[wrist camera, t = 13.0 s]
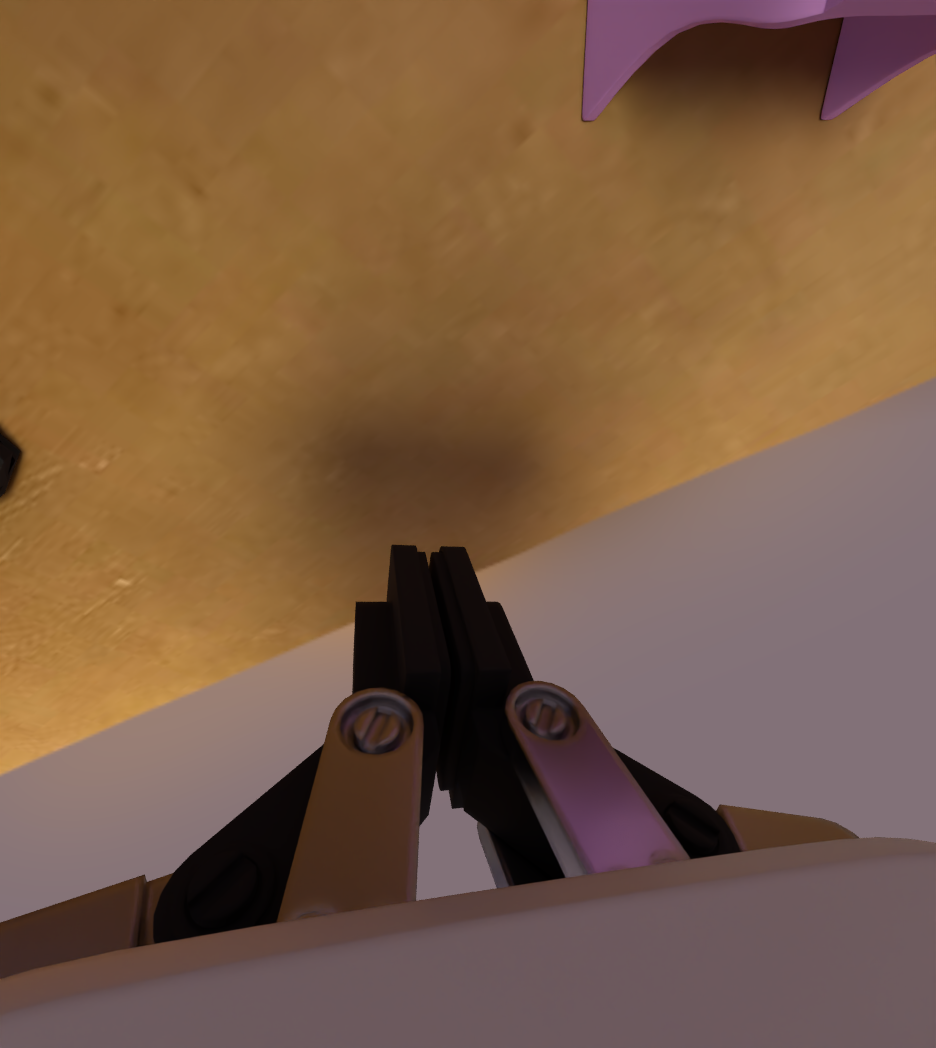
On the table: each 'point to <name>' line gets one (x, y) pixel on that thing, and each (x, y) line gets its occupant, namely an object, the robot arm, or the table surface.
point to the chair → (773, 3)
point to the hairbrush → (6, 462)
